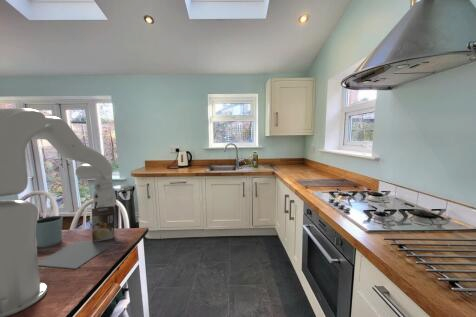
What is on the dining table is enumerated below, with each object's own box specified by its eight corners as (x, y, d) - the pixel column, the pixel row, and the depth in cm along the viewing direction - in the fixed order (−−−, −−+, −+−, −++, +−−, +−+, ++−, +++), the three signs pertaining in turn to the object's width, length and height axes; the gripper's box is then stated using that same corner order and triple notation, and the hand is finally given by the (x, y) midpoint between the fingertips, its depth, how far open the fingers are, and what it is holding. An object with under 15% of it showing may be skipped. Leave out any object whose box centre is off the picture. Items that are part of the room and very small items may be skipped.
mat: (76, 269, 73) (76, 268, 73) (32, 265, 76) (32, 264, 76) (114, 243, 92) (114, 243, 92) (78, 241, 95) (78, 240, 95)
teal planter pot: (32, 245, 92) (30, 221, 91) (59, 236, 101) (57, 214, 100) (40, 250, 87) (38, 225, 86) (68, 240, 96) (66, 217, 95)
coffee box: (112, 229, 102) (114, 205, 97) (114, 238, 98) (115, 213, 93) (91, 234, 97) (91, 208, 91) (91, 243, 92) (91, 216, 87)
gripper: (97, 189, 90) (100, 227, 92) (121, 183, 105) (122, 215, 106) (84, 189, 91) (86, 226, 93) (109, 183, 106) (111, 215, 107)
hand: (106, 220), depth 99 cm, fingers closed
